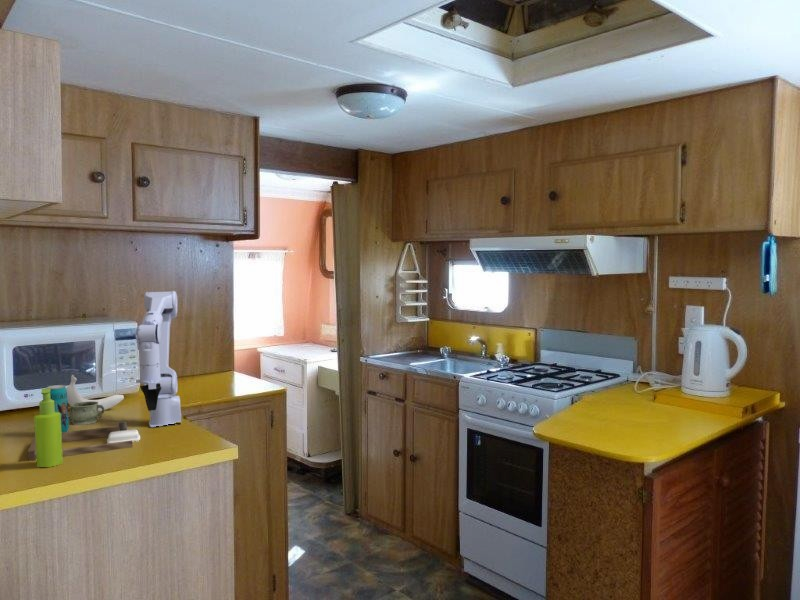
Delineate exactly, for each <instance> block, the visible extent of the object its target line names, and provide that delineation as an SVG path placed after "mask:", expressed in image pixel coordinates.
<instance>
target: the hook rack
mask: <svg viewBox="0 0 800 600" xmlns="http://www.w3.org/2000/svg"><path fill="white" fill-rule="evenodd" d="M127 428H128V426H127V421H121V422H118V425H115V426H106V427H99V428H89V429H80V430H72V431H68V432H62V433H61V435H62V443H65V441H66V442H72V441H73V442H74V441H81V440H91V439H97V438H98V439H99V438H106V437H108V436H109V434H110V433H111V432H115V431H124V430H128V429H127ZM90 438H91V439H90ZM129 448H133V442H132V440H131V441H123V442H115V443H107V442H106V443H100V444H92V445H85V446H77V447H69V448H64V449H63V448H62V455H63V457H68V456H75V455H82V454H91V453H98V452H105V451H106V452H107V451H113V450H121V449H122V450H123V449H129ZM36 459H37V457H36V438H35V435H34V437H33V439H32V441H31V444H30V446H29V448H28V450H27V461H28V460H32V461H37V460H36Z"/></svg>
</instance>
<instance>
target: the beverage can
mask: <svg viewBox="0 0 800 600" xmlns="http://www.w3.org/2000/svg"><path fill="white" fill-rule="evenodd" d="M46 388H51V390H50V398H51V399H52V400H54V404H55V412H59V413H60V414H61V433H62V432H69V429H70V426H69V425H70V424H69V423H70V422H69V421H68V417H69V411H68V408H69V403H68V400H67V389H66V388H67V386H66V385H64V384H56V385H49V386H47V387H46Z"/></svg>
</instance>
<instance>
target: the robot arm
mask: <svg viewBox="0 0 800 600" xmlns="http://www.w3.org/2000/svg"><path fill="white" fill-rule="evenodd" d="M143 298H144V299H143V300H144V301H143V302H144V307H145V311H146V313H144V314H143V318H142V321H141V323H140V324H139V325H138V326H136V328H135V340H136V341H135V342H136V344H137V345H136V346H137V347H136V348H137V350H138V358H139V359H138V361H139V379H136V380H135V383H137V384H143V385H140V387H139V388H140V390H141V392H142V393H143V395H144V400H145V404H146V408H147V411H149V417H150V420H149V421H148V426H149V427H150V428H156V426H159V427H164V426H163V425H167V426H169V425H168V424H174V423H176V422H181V423H182V412H181V410H182V409H181V398H180V395H176V394H178V386H179V385H178V383H179V382H178V375H177V374H178V373H177V372H176V370H174V369H173V368H171V367H170V365H169V361H170V357H169V356H170V338H171V335H170V334H171V330H170V329H171V324H172V320H173V319H175V318H177V315H178V293H177V292H176V291H175V290H173V291H146V292H145V293H144V297H143Z"/></svg>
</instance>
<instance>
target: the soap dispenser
mask: <svg viewBox="0 0 800 600" xmlns="http://www.w3.org/2000/svg"><path fill="white" fill-rule="evenodd" d="M50 390H51V388H47V387H45V388H42V389H41V392H40V393H41V395H42V400H41V401H39V403H38V404H39V413H38V414H35V415H34V433H35V434H34V436H35V438H36V457H37V460H36V467H37V468H39V467H49V468H53V467H52V466H54V467H57V466H56V465H58V466H60V465H62V464H63V463H64V460H63V459H64V458H63V457H64V456H63V455H62V449H63V442H62V435H61V414H60V413H59V412H55V404H54V400H52V399H51V398H50ZM59 464H60V465H59Z"/></svg>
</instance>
